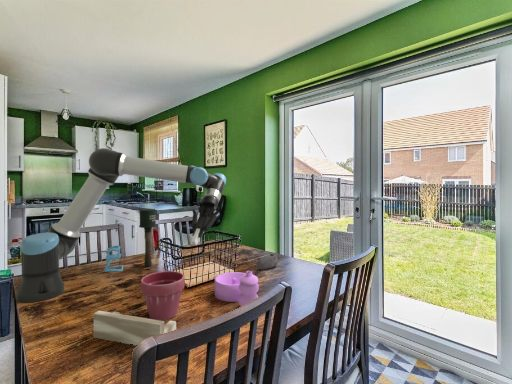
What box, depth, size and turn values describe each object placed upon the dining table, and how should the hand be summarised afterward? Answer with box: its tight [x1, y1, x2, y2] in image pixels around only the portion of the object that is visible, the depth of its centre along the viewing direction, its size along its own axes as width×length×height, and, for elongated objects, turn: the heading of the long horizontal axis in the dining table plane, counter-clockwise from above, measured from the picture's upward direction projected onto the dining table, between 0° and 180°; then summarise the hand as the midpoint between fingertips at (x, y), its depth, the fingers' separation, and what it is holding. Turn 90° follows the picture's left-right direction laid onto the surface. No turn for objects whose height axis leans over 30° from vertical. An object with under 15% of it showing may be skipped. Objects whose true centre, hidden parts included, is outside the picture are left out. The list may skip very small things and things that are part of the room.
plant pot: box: [140, 270, 186, 321], centre depth 95 cm, size 14×14×13 cm
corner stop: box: [92, 310, 177, 347], centre depth 82 cm, size 8×22×7 cm, turn 75°
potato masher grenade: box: [138, 208, 157, 268], centre depth 148 cm, size 8×9×30 cm
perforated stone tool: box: [256, 252, 279, 271], centre depth 147 cm, size 15×5×7 cm, turn 132°
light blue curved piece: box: [103, 245, 124, 273], centre depth 141 cm, size 8×8×12 cm
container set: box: [214, 270, 260, 307], centre depth 109 cm, size 25×15×13 cm, turn 28°
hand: (194, 243), depth 116 cm, fingers closed
